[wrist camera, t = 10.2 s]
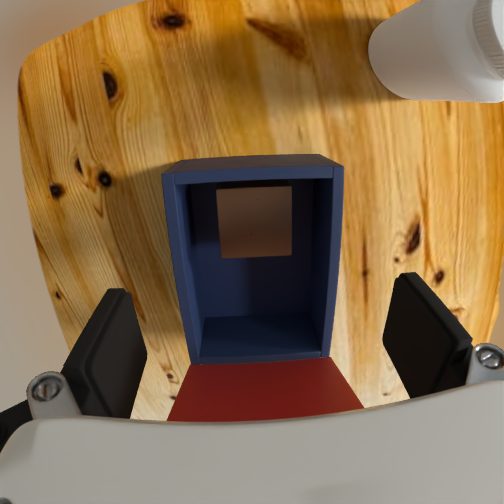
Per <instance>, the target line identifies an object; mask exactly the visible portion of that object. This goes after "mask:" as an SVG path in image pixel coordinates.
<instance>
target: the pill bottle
mask: <svg viewBox="0 0 504 504" xmlns="http://www.w3.org/2000/svg"><path fill="white" fill-rule="evenodd" d="M368 54H369V60H370V64H371V66H372V69H373V71H374V73H375V75H376V76H377V78H378V79H379V81H380V82H381V83H382V84H383V85H384V86H385V87H386V88H387V89H388V90H390V91H391V92H392V93H394V94H396V95H398V96H400V97H402V98H405V99H409V100H416V101H464V102H481V103H497V102H501V101H504V0H421V1H419V2H417V3H415V4H413V5H411V6H410V7H408V8H406V9H404V10H402V11H400V12H399V13H397V14H395V15H393V16H392V17H390V18H388V19H386V20H385V21H383V22H382V23H380V24H379V25H378V26H377V27H376V28H375V30H374V31H373V33H372V35H371V37H370V40H369V46H368Z"/></svg>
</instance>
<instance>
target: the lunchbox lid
mask: <svg viewBox="0 0 504 504" xmlns="http://www.w3.org/2000/svg"><path fill="white" fill-rule="evenodd" d="M363 408H364V407H363V405H362V404H361V402H360V401H359V399H358V398H357V396H356V395H355V393H354V392H353V390H352V389H351V387H350V385H349V384H348V382H347V381H346V379H345V378H344V376H343V375H342V373H341V372H340V370H339V369H338V367H337V366H336V364H335V363H334V361H333V360H332V358H331V357H325V358H315V359H304V360H292V361H279V362H263V363H242V364H204V365H190V366H189V368H188V371H187V373H186V376H185V378H184V380H183V383H182V385H181V387H180V390H179V392H178V395H177V397H176V399H175V402H174V404H173V407H172V409H171V411H170V414H169V416H168V419H167V421H177V422H234V421H258V420H273V419H286V418H297V417H306V416H315V415H323V414H331V413H338V412H344V411H351V410H357V409H363Z"/></svg>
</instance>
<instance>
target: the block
mask: <svg viewBox="0 0 504 504" xmlns="http://www.w3.org/2000/svg"><path fill="white" fill-rule="evenodd" d="M216 200H217V214H218V227H219V239H220V251H221V259H225V258H246V257H266V256H287V255H292V186H291V185H290V184H289V182H288V181H287V179H269V180H245V181H226V182H218V185H217V188H216Z"/></svg>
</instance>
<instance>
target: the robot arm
mask: <svg viewBox="0 0 504 504" xmlns="http://www.w3.org/2000/svg"><path fill="white" fill-rule="evenodd" d="M382 340H383V345H384V347H385V349H386V351H387V353H388V355H389V357H390V359H391V361H392V363H393V365H394V366H395V368H396V370H397V372H398V374H399V376H400V378H401V381H402V383H403V385H404V387H405V389H406V391H407V393H408V395H409V397H410V399H408V400H403V401H399V402H394V403H389V404H384V405H379V406H374V407H369V408H363V409H357V410H351V411H344V412H338V413H331V414H323V415H315V416H306V417H297V418H286V419H273V420H258V421H234V422H177V421H155V420H137V419H130V416H131V412H132V409H133V405H134V402H135V398H136V395H137V391H138V388H139V384H140V381H141V377H142V374H143V371H144V367H145V364H146V361H147V350H146V346H145V343H144V340H143V336H142V333H141V330H140V326H139V323H138V319H137V315H136V312H135V308H134V304H133V300H132V297H131V294H130V293H129V292H126V290H125V289H124V288H110V289H108V290H107V291H106V293H105V294H104V296H103V298H102V299H101V301H100V303H99V304H98V306H97V308H96V309H95V311H94V312H93V314H92V316H91V318H90V319H89V321H88V323H87V324H86V326H85V328H84V329H83V331H82V333H81V335H80V336H79V338H78V340H77V342H76V343H75V345H74V347H73V349H72V351H71V352H70V354H69V356H68V358H67V360H66V362H65V363H64V365H63V366H64V367H63V369H62V370H61V372H60V373H59V372H54V371H49V372H44V373H41V374H40V375H38V376H36V377H35V378H34V379H33V380H32V381H31V382H30V383H29V385H28V387H27V391H26V392H27V400H25V401H23V402H21V403H19V404H17V405H15V406H13V407H11V408H9V409H7V410H5V411H3V412H1V413H0V504H504V351H503V350H502V349H501V348H499V347H498V346H496V345H493V344H490V343H480V344H478V345H476V346H475V347H473V346H472V344H471V342H472V340H473V339H472V337H471V336H470V335H469V334H468V332H467V331H466V330H465V329H464V327H463V326H462V325H461V324H460V322H459V321H458V320H457V319H456V318H455V316H454V315H453V314H452V313H451V312H450V310H449V309H448V308H447V307H446V306H445V305H444V303H443V302H442V301H441V300H440V299H439V298H438V296H437V295H436V294H435V293H434V292H433V291H432V290H431V288H430V287H429V286H428V285H427V284H426V283H425V282H424V281H423V279H422V278H421V277H420V276H419V275H418V274H417V273H416V272H410V273H401V274H400V275H399V277H398V278H396V279H395V282H394V287H393V292H392V297H391V302H390V306H389V311H388V315H387V320H386V324H385V328H384V332H383V338H382Z"/></svg>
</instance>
